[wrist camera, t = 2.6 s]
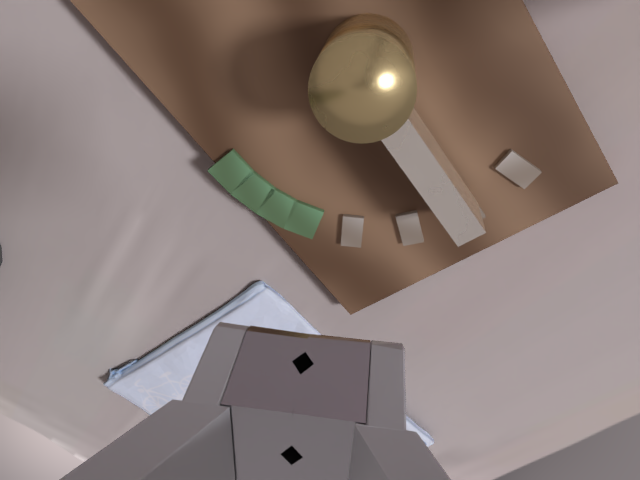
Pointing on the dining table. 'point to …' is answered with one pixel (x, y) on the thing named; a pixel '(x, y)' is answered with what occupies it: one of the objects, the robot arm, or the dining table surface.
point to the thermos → (0, 255)
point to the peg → (388, 113)
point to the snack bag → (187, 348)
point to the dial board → (368, 158)
